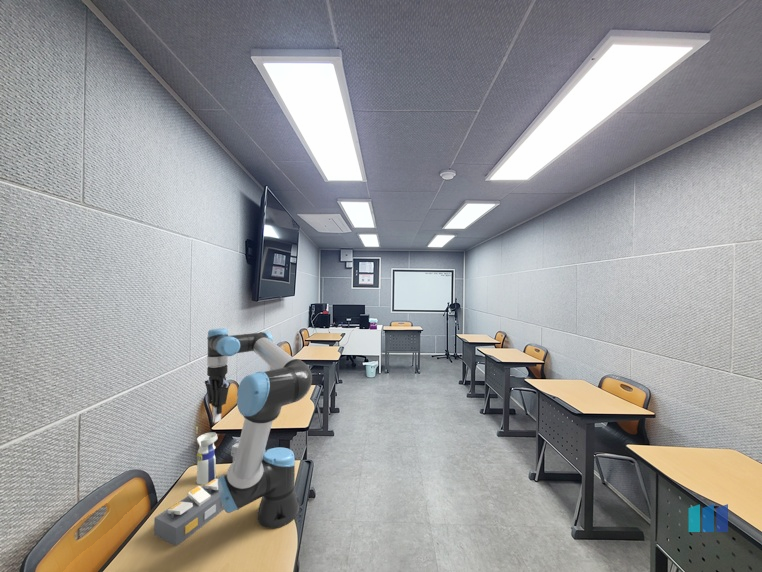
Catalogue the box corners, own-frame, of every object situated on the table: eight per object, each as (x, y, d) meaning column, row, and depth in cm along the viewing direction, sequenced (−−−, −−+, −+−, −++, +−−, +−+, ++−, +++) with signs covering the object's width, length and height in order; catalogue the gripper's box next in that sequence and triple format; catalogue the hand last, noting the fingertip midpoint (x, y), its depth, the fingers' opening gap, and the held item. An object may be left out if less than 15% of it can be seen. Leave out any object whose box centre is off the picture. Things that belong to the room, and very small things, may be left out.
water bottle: (203, 487, 126) (204, 429, 127) (191, 481, 130) (192, 425, 131) (221, 476, 134) (221, 421, 135) (209, 471, 138) (209, 418, 138)
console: (237, 499, 119) (237, 480, 119) (176, 546, 97) (177, 523, 97) (216, 491, 124) (216, 473, 124) (154, 534, 102) (154, 512, 102)
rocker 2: (210, 498, 111) (210, 495, 111) (199, 506, 107) (199, 502, 107) (198, 488, 114) (199, 485, 114) (187, 495, 110) (188, 492, 110)
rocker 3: (227, 483, 118) (226, 479, 118) (217, 490, 113) (216, 486, 114) (215, 481, 120) (214, 478, 120) (205, 488, 116) (204, 484, 116)
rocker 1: (192, 506, 105) (192, 502, 105) (180, 514, 101) (179, 510, 101) (180, 505, 107) (180, 501, 107) (167, 513, 103) (167, 509, 103)
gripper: (236, 364, 125) (235, 420, 124) (215, 362, 130) (214, 415, 129) (220, 368, 118) (219, 427, 117) (198, 365, 123) (198, 422, 122)
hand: (217, 421), depth 123 cm, fingers closed
